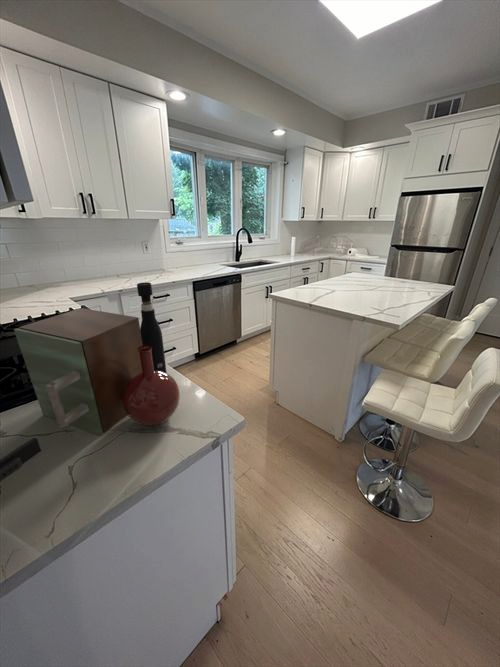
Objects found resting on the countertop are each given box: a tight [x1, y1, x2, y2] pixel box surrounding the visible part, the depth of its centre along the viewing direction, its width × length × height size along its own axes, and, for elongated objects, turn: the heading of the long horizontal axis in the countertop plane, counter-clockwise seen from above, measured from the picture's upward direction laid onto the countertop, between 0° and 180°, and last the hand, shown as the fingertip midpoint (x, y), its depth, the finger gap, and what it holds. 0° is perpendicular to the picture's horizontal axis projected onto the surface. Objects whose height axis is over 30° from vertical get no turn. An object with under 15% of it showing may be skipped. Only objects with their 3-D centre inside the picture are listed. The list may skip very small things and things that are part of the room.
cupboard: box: [18, 307, 143, 434], centre depth 71 cm, size 16×20×24 cm
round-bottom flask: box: [123, 345, 181, 427], centre depth 66 cm, size 13×13×20 cm
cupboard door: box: [13, 327, 105, 437], centre depth 61 cm, size 7×20×24 cm, turn 68°
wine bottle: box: [136, 282, 168, 374], centre depth 84 cm, size 6×6×30 cm
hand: (12, 432), depth 49 cm, fingers open, 13 cm apart
